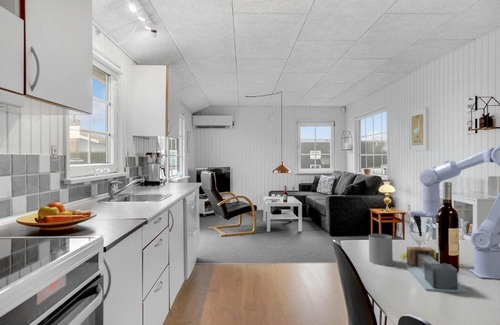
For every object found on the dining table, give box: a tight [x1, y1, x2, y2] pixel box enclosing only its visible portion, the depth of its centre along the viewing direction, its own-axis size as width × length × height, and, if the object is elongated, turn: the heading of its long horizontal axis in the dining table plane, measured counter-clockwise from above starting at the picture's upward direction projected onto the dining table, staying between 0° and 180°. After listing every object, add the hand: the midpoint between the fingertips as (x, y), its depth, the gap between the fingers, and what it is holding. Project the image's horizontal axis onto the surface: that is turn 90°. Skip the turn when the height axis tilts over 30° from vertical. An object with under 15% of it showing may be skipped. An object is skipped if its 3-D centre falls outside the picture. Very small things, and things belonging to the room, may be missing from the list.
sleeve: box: [424, 262, 459, 290], centre depth 98 cm, size 6×8×6 cm
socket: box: [406, 246, 436, 266], centre depth 116 cm, size 8×4×6 cm, turn 78°
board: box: [402, 262, 468, 294], centre depth 106 cm, size 11×25×1 cm, turn 168°
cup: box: [368, 233, 394, 266], centre depth 123 cm, size 8×8×10 cm
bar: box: [415, 252, 441, 272], centre depth 108 cm, size 4×17×5 cm, turn 168°
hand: (431, 236), depth 121 cm, fingers open, 7 cm apart
